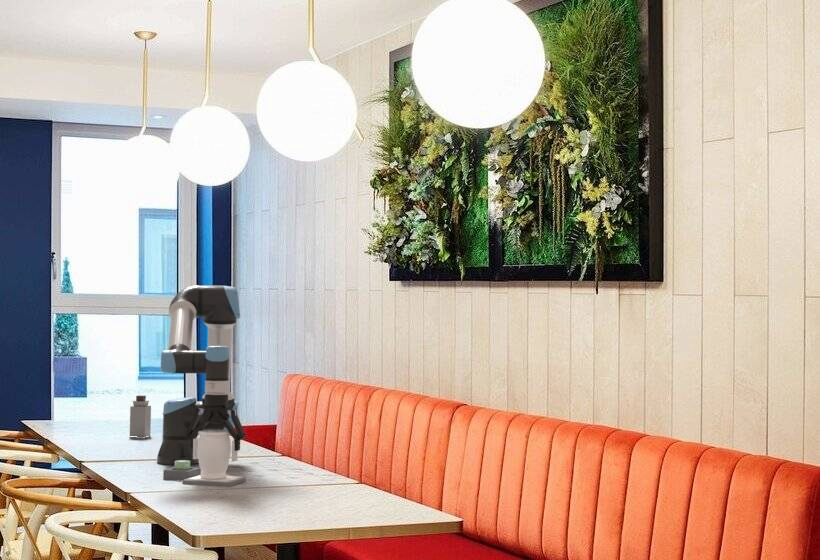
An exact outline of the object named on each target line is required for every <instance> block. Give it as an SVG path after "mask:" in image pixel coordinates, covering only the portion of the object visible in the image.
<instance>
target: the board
mask: <svg viewBox="0 0 820 560" xmlns="http://www.w3.org/2000/svg"><path fill="white" fill-rule="evenodd" d="M246 480H247V477H243V476H237V475H236V476H235V475H233V476H232V475H227V477H226V478H222V479H205V478H201V477H200V475H198V476H195V477H192V478H188V479H185V480H182V483H181V484H182V485H193V486H194V485H195V486H209V487H224V488H231V487H232V486H235V485H236V486H237V485H238V484H239V485H240V484H241V483H244V482H246Z"/></svg>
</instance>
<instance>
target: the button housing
mask: <svg viewBox="0 0 820 560" xmlns="http://www.w3.org/2000/svg"><path fill="white" fill-rule="evenodd" d="M201 474H202V471H201V469H200V467H193V466H190V470H187V471H185V470H175V466H173V467H170V468H165V469H163V475H162V477H163V478H162V479H163V480H173V481H174V480H175V481H183V480H185V479H188V478H192V477H195V476H198V475H201Z"/></svg>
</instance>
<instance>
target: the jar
mask: <svg viewBox="0 0 820 560" xmlns="http://www.w3.org/2000/svg"><path fill="white" fill-rule="evenodd" d="M198 434H199V435H198V436H199V437H198V438H199V442H198V459H199V463H198V465H199V468H200V469H201V475H200V477H201V478H205V479H222V478H226V477H227V476H228V475H227V474H226V472H227V470H228V467H229V463H230V458H231V455H232V441H231V438H230V436H231V434H230V433H229V432H228V430H201V431H198Z"/></svg>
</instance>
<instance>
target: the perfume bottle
mask: <svg viewBox="0 0 820 560" xmlns="http://www.w3.org/2000/svg"><path fill="white" fill-rule="evenodd" d="M146 398H147V395H141V394H140V395H139V394H138V395H136V396H135V399H136V400H132V406H130V409H129V410H130V411H129V412H130V413H129V437H130V436H137V437H146V436H150V437H151V430H152V429H151V426H152V425H151V423H152V421H151V420H152V419H151V418H152V406H151V405H149V403H150V400H147V399H146Z"/></svg>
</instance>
